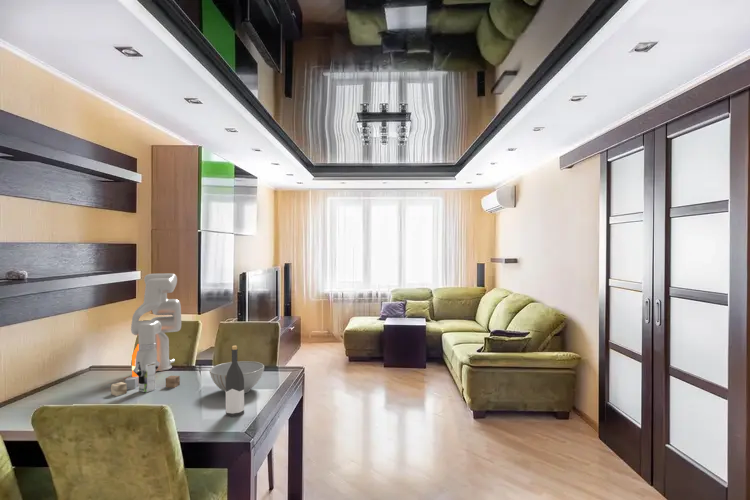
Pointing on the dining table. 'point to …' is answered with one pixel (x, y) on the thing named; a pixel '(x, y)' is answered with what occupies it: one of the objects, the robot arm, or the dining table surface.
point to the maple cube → (119, 388)
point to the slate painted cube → (132, 382)
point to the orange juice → (134, 361)
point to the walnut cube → (172, 381)
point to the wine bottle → (234, 388)
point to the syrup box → (148, 378)
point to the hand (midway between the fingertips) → (147, 381)
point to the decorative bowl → (248, 368)
